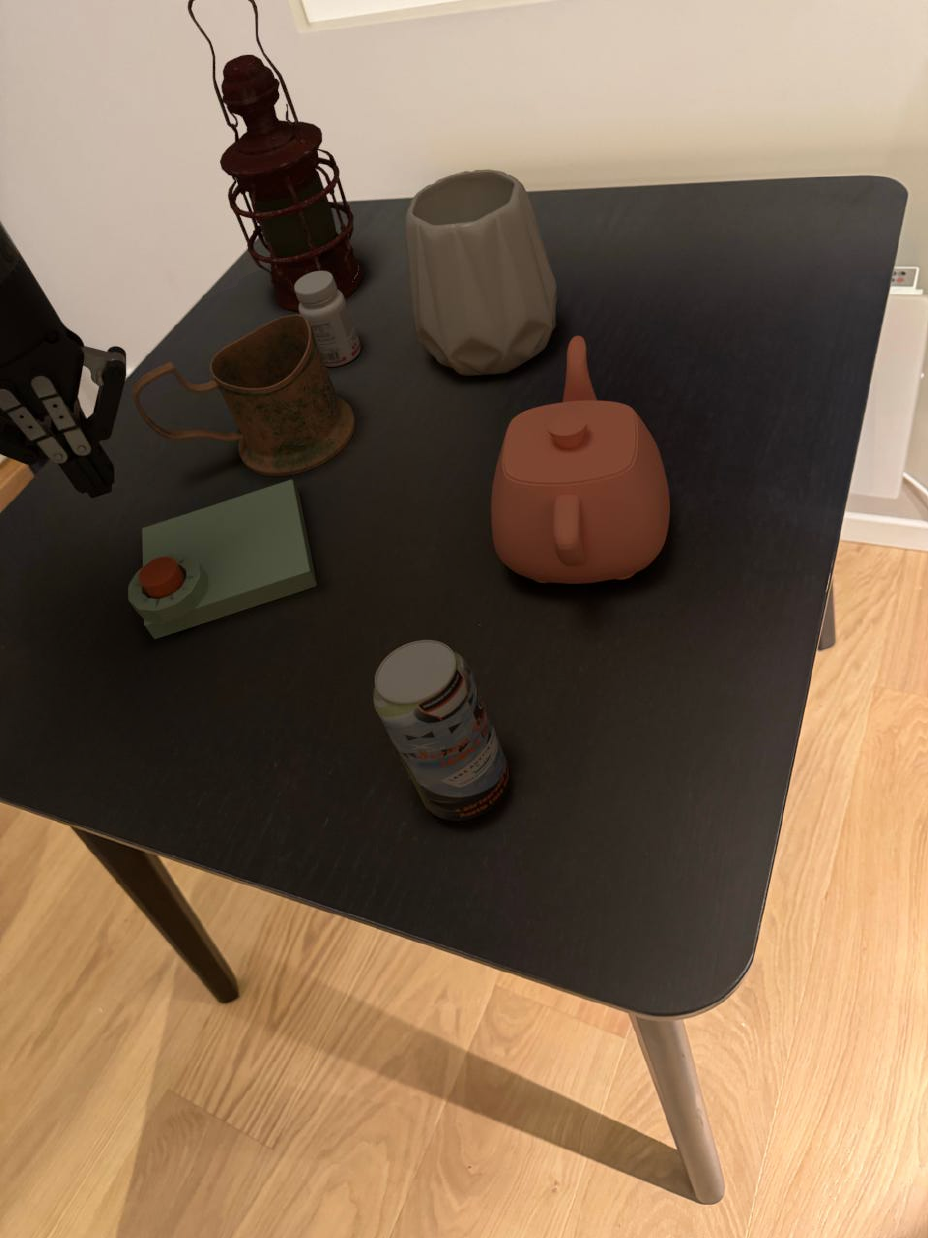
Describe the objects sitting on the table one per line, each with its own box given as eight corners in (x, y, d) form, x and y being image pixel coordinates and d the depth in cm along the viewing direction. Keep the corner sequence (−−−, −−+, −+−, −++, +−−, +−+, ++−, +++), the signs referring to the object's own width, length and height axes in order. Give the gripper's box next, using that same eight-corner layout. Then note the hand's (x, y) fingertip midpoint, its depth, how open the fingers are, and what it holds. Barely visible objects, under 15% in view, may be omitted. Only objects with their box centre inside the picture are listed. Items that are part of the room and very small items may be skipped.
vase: (556, 383, 87) (533, 229, 75) (412, 393, 90) (369, 247, 79) (570, 297, 95) (551, 148, 84) (437, 309, 99) (402, 167, 88)
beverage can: (461, 849, 59) (415, 750, 50) (394, 778, 63) (341, 674, 54) (534, 786, 61) (503, 679, 52) (464, 720, 65) (424, 611, 56)
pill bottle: (345, 335, 100) (320, 262, 93) (370, 350, 97) (346, 276, 90) (309, 357, 98) (281, 285, 92) (333, 373, 95) (306, 300, 89)
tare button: (147, 604, 74) (138, 591, 73) (146, 576, 77) (138, 563, 75) (185, 591, 74) (177, 578, 73) (183, 564, 77) (175, 551, 75)
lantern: (249, 313, 106) (125, 21, 84) (300, 254, 113) (197, -31, 90) (340, 319, 102) (234, 11, 79) (388, 257, 108) (302, -43, 86)
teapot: (669, 444, 78) (663, 319, 69) (673, 631, 66) (667, 508, 57) (513, 456, 82) (488, 337, 72) (489, 636, 69) (455, 520, 60)
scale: (148, 646, 76) (128, 619, 73) (145, 544, 84) (127, 517, 81) (318, 590, 76) (304, 561, 73) (299, 494, 84) (286, 465, 82)
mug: (170, 457, 92) (110, 355, 83) (330, 381, 94) (289, 274, 85) (201, 523, 84) (139, 419, 75) (373, 439, 87) (334, 328, 78)
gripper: (65, 209, 57) (186, 429, 70) (-141, 277, 57) (19, 485, 70) (60, 266, 52) (191, 492, 65) (-165, 341, 52) (11, 551, 65)
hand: (102, 488), depth 68 cm, fingers closed
